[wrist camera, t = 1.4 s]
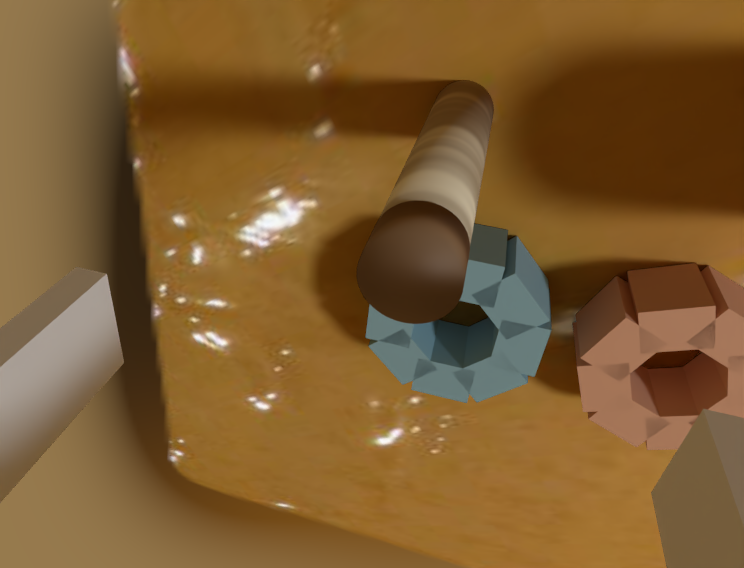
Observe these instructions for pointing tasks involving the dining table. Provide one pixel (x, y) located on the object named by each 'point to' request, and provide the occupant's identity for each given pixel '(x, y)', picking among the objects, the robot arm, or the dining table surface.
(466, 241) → the wooden dowel handle
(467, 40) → the dining table surface
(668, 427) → the bead terracotta
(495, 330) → the bead
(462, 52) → the dining table surface
